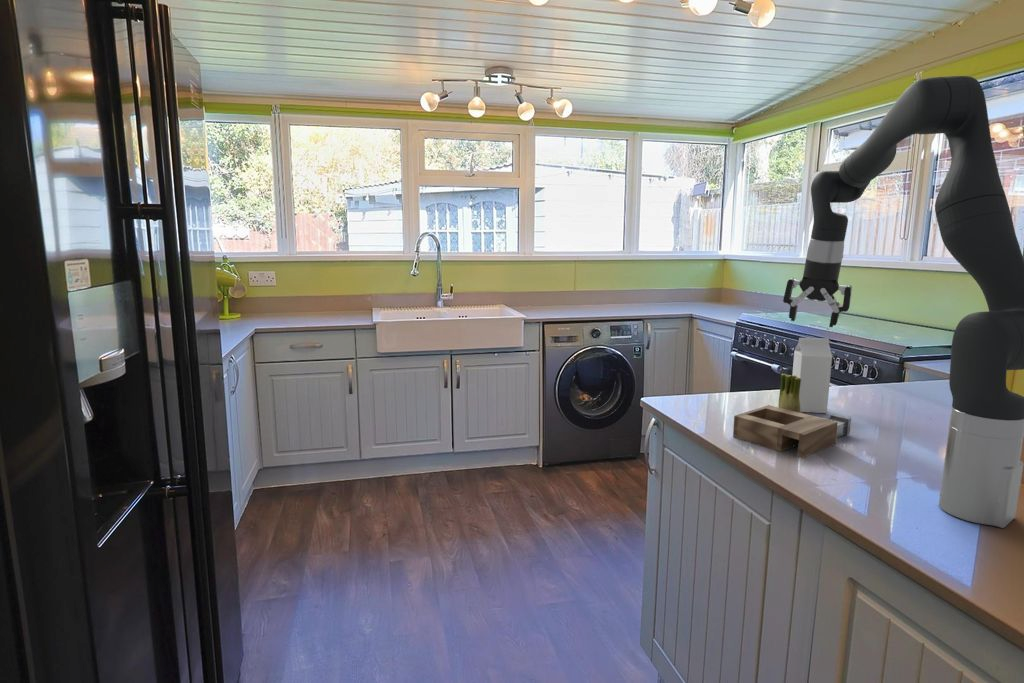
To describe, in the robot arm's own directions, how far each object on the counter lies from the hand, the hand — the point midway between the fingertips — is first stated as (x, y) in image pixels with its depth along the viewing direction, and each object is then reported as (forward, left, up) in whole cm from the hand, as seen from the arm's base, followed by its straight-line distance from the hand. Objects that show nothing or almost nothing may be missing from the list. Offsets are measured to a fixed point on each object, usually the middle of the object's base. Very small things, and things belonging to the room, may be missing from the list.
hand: (811, 323), depth 141 cm
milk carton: (+3, -7, -24) cm, 25 cm away
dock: (-6, +21, -24) cm, 32 cm away
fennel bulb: (0, +8, -24) cm, 25 cm away
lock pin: (-12, +13, -24) cm, 29 cm away
